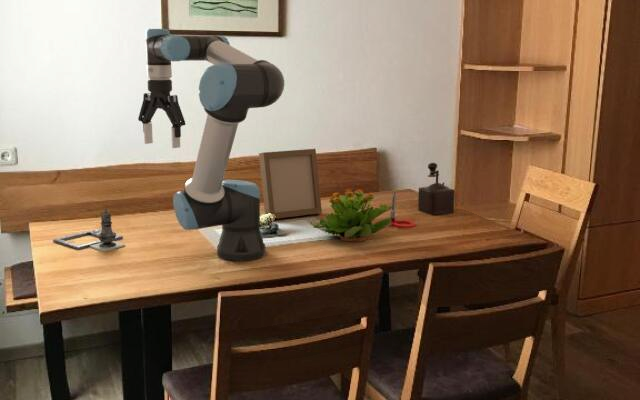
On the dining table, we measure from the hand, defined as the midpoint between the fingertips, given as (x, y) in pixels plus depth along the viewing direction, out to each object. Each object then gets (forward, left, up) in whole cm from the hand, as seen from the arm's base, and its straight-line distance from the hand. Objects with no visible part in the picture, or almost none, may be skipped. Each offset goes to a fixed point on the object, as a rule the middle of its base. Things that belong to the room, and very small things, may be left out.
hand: (162, 145), depth 226 cm
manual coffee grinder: (-47, -96, -32) cm, 111 cm away
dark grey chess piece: (+8, +17, -31) cm, 37 cm away
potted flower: (-47, -43, -32) cm, 71 cm away
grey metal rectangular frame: (+20, +16, -32) cm, 41 cm away
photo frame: (-8, -53, -32) cm, 62 cm away
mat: (+8, +17, -32) cm, 37 cm away
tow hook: (-50, -68, -32) cm, 90 cm away
